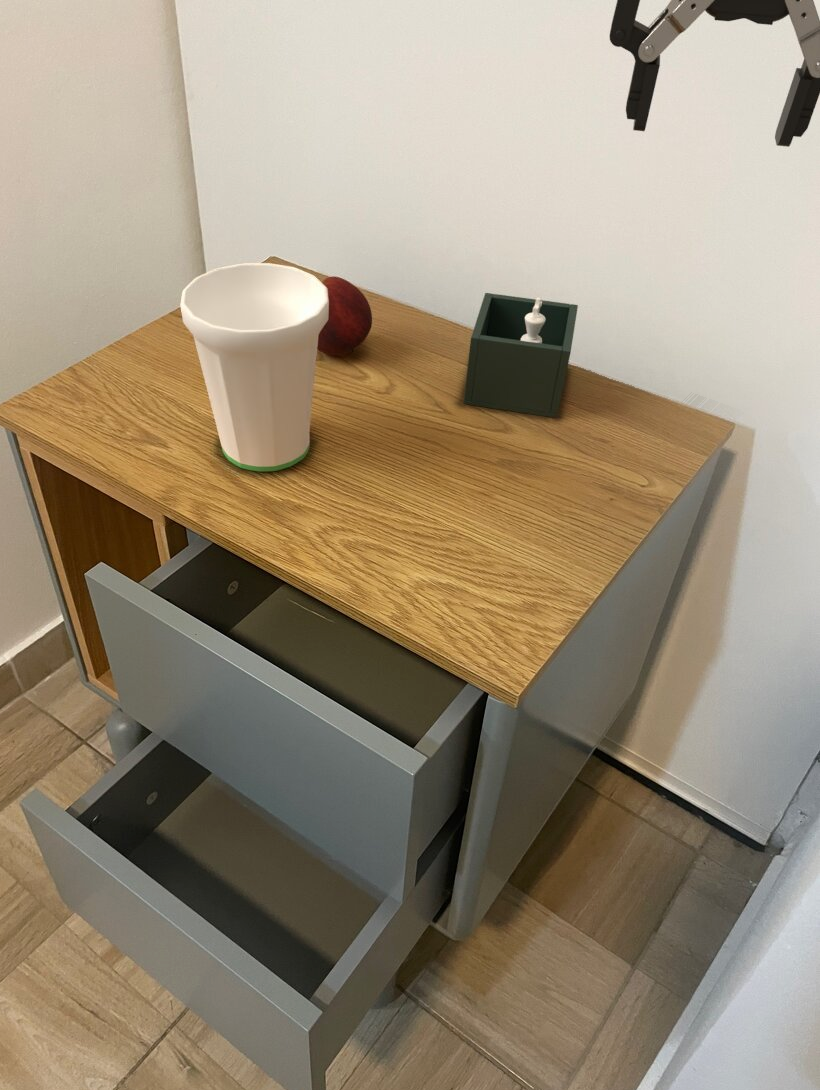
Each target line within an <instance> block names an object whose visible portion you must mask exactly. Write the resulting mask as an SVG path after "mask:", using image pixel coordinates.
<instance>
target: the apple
mask: <svg viewBox="0 0 820 1090" xmlns="http://www.w3.org/2000/svg"><path fill="white" fill-rule="evenodd" d="M321 283H322V284H323V285H324V286H325V287H326V288H327V289H328V300H329V312H328V321H327V322H326V324H325V325H324V327H323V328H322V330H321V331H320V333H319V335H318V346H317V351H319V352H321V353H323V354H325V355H329V356H342V355H343V356H344V355H346V354H348V353H350V352H352V353H354V350H355V349H357V348H358V347H359V346H360V345H362V343H363V342H364V341H365V340H366V338H367V337H368V336H369V334H370V332H371V329H372V326H373V312H372V309H371V306H370V303H369V301H368V299H367V298H366V296H365V295H364V293H363V292H362V291H361V290H360V289H359V288H358V287H357V286H355V285H354V283H351V282H350V281H348V280H346V279H344V278H342V277H339V276H328V277H326V278H325V279H323V281H321Z"/></svg>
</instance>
